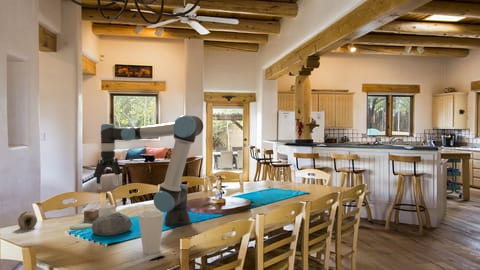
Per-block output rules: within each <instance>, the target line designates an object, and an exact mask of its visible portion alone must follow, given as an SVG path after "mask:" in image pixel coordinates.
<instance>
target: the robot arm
mask: <svg viewBox="0 0 480 270" xmlns="http://www.w3.org/2000/svg"><path fill="white" fill-rule="evenodd" d="M203 130H204V123H203V121H202V119H201V118H200V117H198V116H197V115H188V114H185V115H184V114H183V115H181V116H178V117H177V118H176V119H175V120H174V122H167V123H161V124H153V125H144V126H136V127H132V126H131V127H129V126H123V127H119V126H118V127H116V124H114V123H102V124H101V125H100V151H101V152H100V157H101V159H97V164H96V166H95V167H96V168H95V171H94V173H93V177H94V178H96V189H97V190H102V189H103V178H102V175H103V174H104V172H105V170H106V169H107V168H110V169H111V170H112V172H113V186H116V187H118V186H119V175H121V174H122V169H121V166H120V165H119V161H118V160H119V159H118V157H117V158H116V156H115V155H116V152H115V150H116V144H115V143H116V141H126V142H128V141H129V142H130V141H140V140H144V139H153V138H154V139H155V138H163V137H171V136H173V139H174V144H173V149H172V152H171V156H170V159H169V162H168V167H167V170H166V174H165V178H164V181H163V182H162V183H160V186H159V189H158V191H157V192H156V193H155V195H154V197H153V205H154V207H155V208H156V209H157V210H158V211H159V212H162V213H166V214H165V216H164V219H163V224H164V225H165V226H168V227H183V226H187V225H189V224H191V217H190V214H189V211H188V191H189V190H188V186H187V185H186V184H181V181H182V177H183V173H184V171H185V167H186V162H187V160H188V155H189V152H190V149H191V145H193V144H194V143H195V141H196V137H197V136H199V135H200V134H202V132H203Z"/></svg>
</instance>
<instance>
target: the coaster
mask: <svg viewBox="0 0 480 270" xmlns="http://www.w3.org/2000/svg"><path fill="white" fill-rule="evenodd" d="M92 224H93V223H87V222H83V223H76V224H74V225H71V226H70V227H69V229H70V230H73V231H81V230H82V231H83V230H87V229H92Z"/></svg>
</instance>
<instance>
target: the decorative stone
mask: <svg viewBox="0 0 480 270" xmlns="http://www.w3.org/2000/svg"><path fill="white" fill-rule="evenodd" d="M91 224H92V227H91V231H92V232H93V233H94V234H95V235H98V236H115V235H120V234H123V233H125V232H128V231H131V228H132V226H133V223H132V220H131V217H129V216H127V215H126V214H123V213H121V212H120V211H119V212H118V211H116V212H115V213H110V214H105V215H102V216H100V217H98V218H97V219H96V220H95V221H94V222H93V223H91Z"/></svg>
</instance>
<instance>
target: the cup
mask: <svg viewBox="0 0 480 270" xmlns="http://www.w3.org/2000/svg"><path fill="white" fill-rule="evenodd" d="M164 219H165V212H161V211H159V210H158V211H157V210H156V211H143V212H142V213H139V214H138V222H139V231H140V239H141V247H142V253H144V254H146V255H151V254H153V255H155V254H157V253H159V252H160V251H161V241H162V234H163V226H164V225H163V224H164Z"/></svg>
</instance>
